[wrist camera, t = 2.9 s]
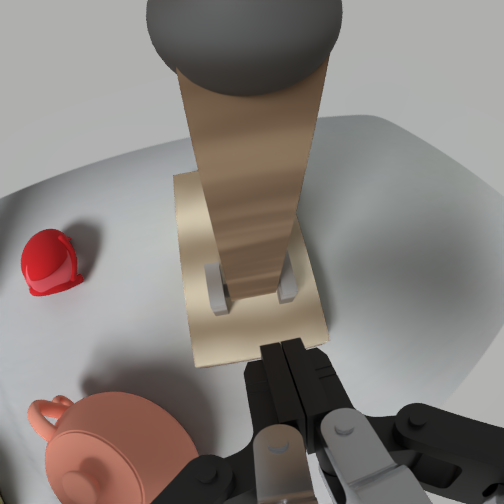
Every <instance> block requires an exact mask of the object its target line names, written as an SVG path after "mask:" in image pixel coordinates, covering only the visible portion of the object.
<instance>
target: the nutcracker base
mask: <svg viewBox="0 0 504 504" xmlns="http://www.w3.org/2000/svg"><path fill="white" fill-rule="evenodd" d="M173 180H174V195H175V208H176V220H177V231H178V241H179V251H180V261H181V270H182V278H183V286H184V294H185V302H186V309H187V317H188V324H189V330H190V337H191V343H192V350H193V356H194V362H195V367H198V368H207V367H214V366H220V365H226V364H232V363H238V362H244V361H249V360H254V359H260V358H261V353H260V347H259V346H261V345H266V344H271V343H276V342H279V343H280V342H281V341H285V340H290V339H294V338H299V337H300V338H301V339H302V342H303V344H304V346H305V349H306V348H311V347H315V346H319V345H322V344H324V343H326V342H328V341H330V338H329V334H328V330H327V326H326V321H325V317H324V313H323V310H322V306H321V302H320V298H319V294H318V290H317V286H316V283H315V279H314V275H313V271H312V268H311V264H310V260H309V257H308V253H307V250H306V246H305V243H304V239H303V236H302V232H301V229H300V225H299V222H298V218H297V215H296V214H295V218H294V222H293V226H292V230H291V234H290V238H289V242H288V247H287V251H286V255H285V259H284V263H283V266H282V270H281V274H280V278H279V282H278V286H277V290H276V293H272V294H266V295H261V296H256V297H250V298H245V299H240V300H234V301H231V298H230V294H229V290H228V286H227V283H226V279H225V275H224V271H223V268H222V264H221V260H220V256H219V252H218V248H217V244H216V240H215V236H214V233H213V229H212V225H211V221H210V217H209V212H208V208H207V204H206V200H205V196H204V192H203V188H202V184H201V179H200V175H199V171H193V172H188V173H183V174H178V175H173Z"/></svg>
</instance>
